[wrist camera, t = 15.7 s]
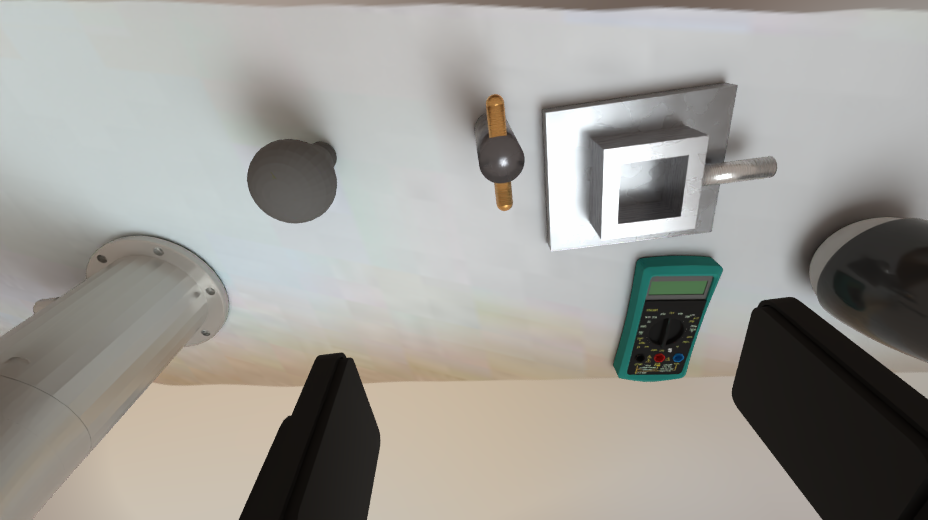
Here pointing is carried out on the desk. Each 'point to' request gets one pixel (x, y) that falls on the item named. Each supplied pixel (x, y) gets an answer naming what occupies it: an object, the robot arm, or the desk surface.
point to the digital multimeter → (665, 316)
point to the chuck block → (640, 166)
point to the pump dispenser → (877, 281)
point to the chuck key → (498, 150)
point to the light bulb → (293, 179)
